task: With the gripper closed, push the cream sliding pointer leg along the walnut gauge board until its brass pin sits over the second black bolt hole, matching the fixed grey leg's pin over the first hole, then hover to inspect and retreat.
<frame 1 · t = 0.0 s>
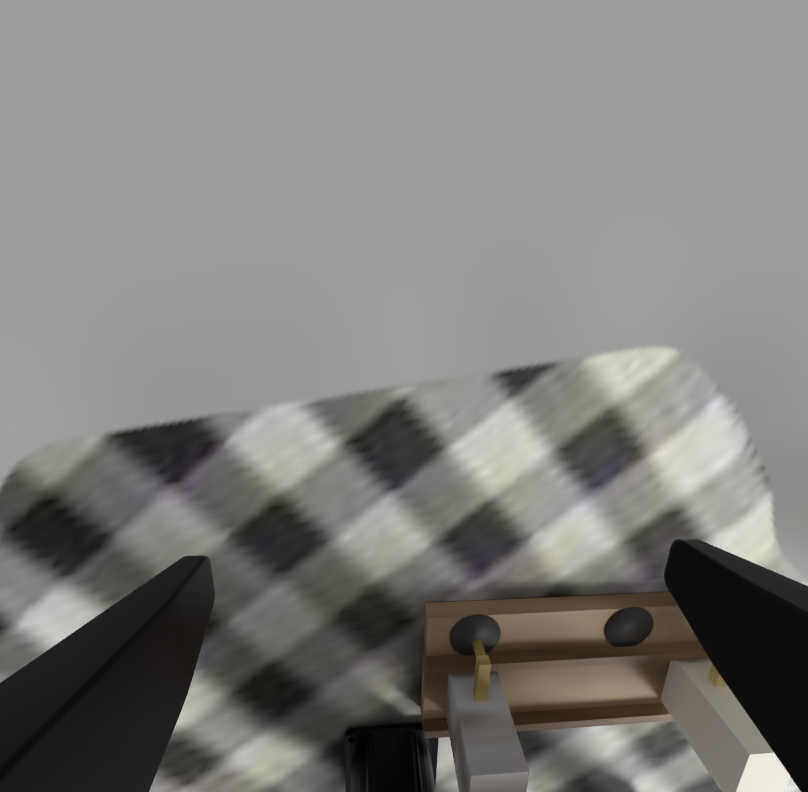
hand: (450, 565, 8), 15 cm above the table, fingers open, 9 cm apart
slider: (727, 704, 26), point 4 cm above the table, slide at 0.0 cm
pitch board: (568, 649, 29), on the table
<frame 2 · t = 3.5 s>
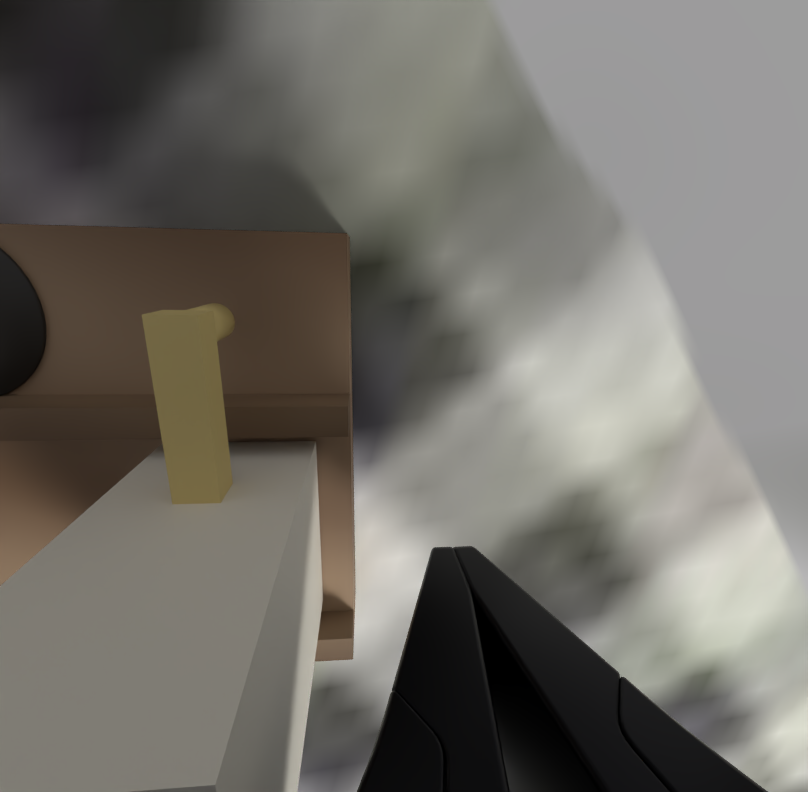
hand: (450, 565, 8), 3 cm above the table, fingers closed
slider: (182, 569, 6), point 4 cm above the table, slide at 0.2 cm, touching gripper
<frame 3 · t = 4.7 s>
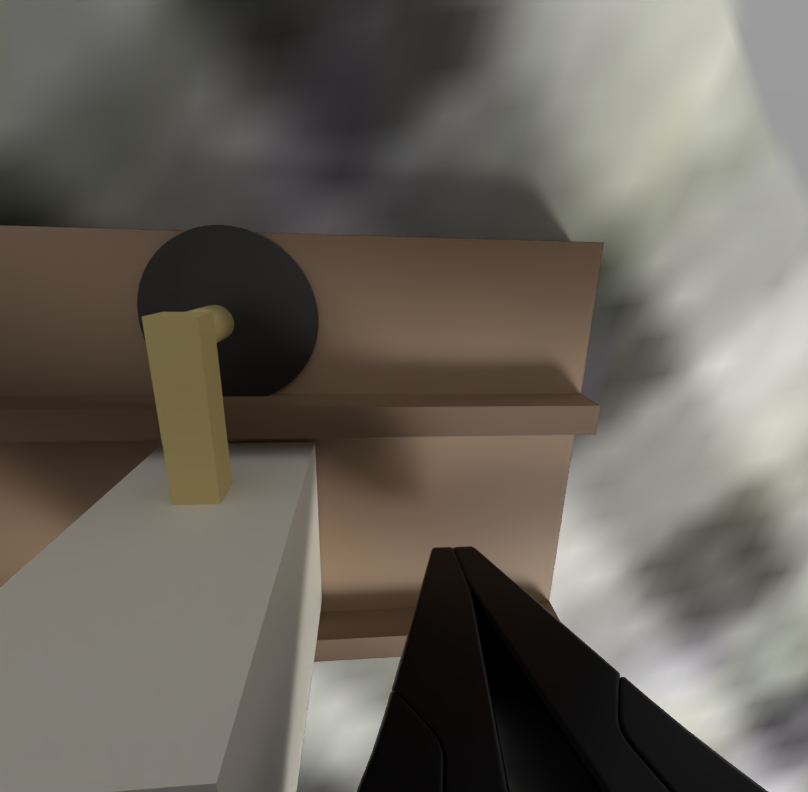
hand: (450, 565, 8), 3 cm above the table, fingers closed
slider: (182, 569, 6), point 4 cm above the table, slide at 5.1 cm, touching gripper
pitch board: (124, 442, 10), on the table
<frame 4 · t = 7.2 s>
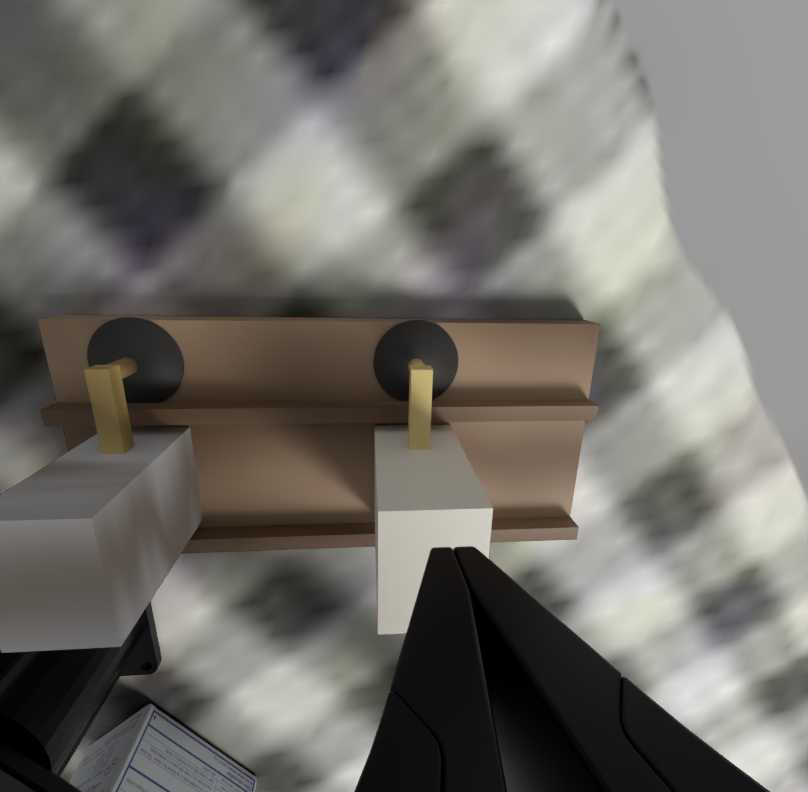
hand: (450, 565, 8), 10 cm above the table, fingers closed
slider: (421, 475, 14), point 4 cm above the table, slide at 5.1 cm
medicine box: (180, 753, 23), on the table
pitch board: (339, 426, 18), on the table
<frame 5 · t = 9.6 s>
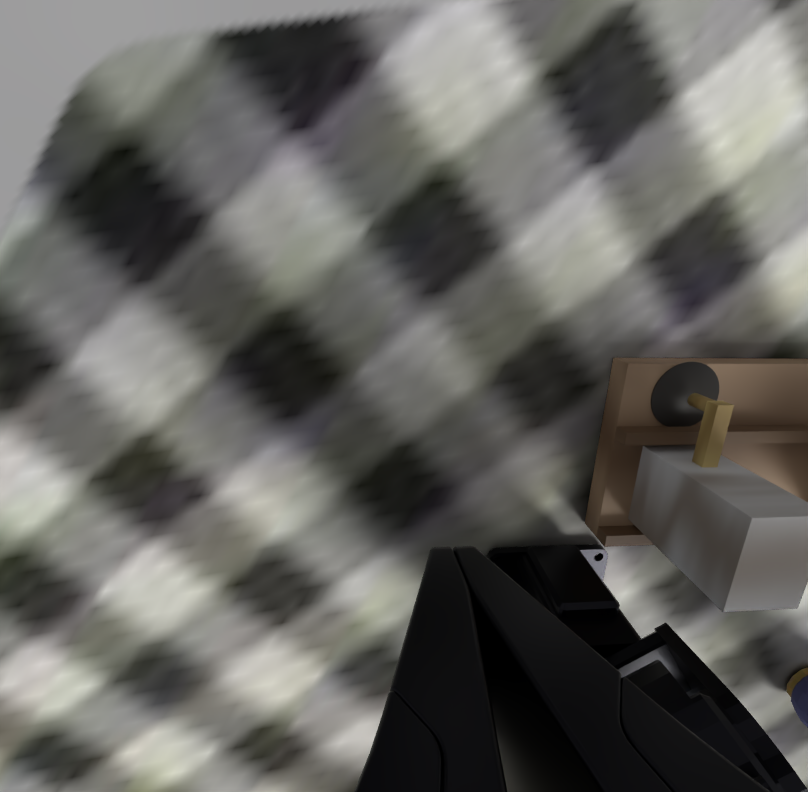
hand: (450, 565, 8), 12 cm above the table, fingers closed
rubber mallet: (801, 676, 28), on the table
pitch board: (781, 442, 22), on the table
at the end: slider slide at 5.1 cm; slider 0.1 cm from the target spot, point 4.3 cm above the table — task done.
